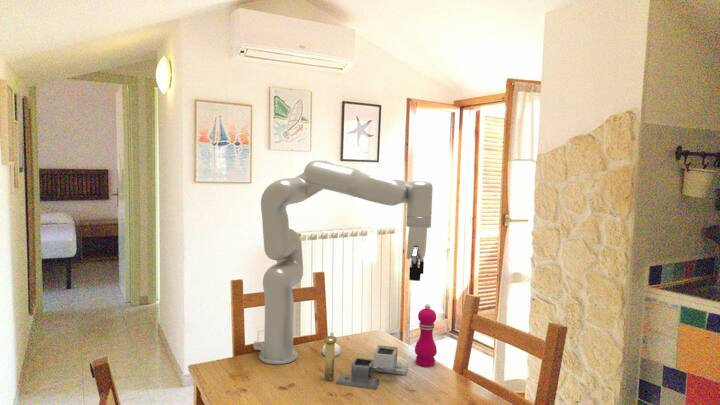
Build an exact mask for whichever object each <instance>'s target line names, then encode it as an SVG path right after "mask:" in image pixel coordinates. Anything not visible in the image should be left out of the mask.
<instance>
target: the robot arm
mask: <svg viewBox="0 0 720 405" xmlns="http://www.w3.org/2000/svg"><path fill="white" fill-rule="evenodd" d="M323 190H327V191H331V192H336V193H339V194H343V195H347V196H351V197H354V198H358V199H360V200H364V201H369V202H372V203H377V204H381V205H386V206H389V207H390V206H391V207H392V206H397V205H399V204H406V224H405V226H406V227H408V236H407V247H406V248H407V250H406V259H407V260H410V266H409V275H408V276H409V277H408V278H409V279H408V280H409V281H416V282H417V281H418V282H419V281H421V275H423V274H424V267H425V266H424V264H425V262H424V258H425V256H426V251H427V250H426V249H427V234H428V229H430V228H432V210H433V209H432V208H433V184H432V183H431V182H428V181H419V180H418V181H417V180H416V181H407V180H400V179H386V178H381V177H378V176H374V175H370V174H366V173H364V172H362V171H361V170H359V169H357V168H353V167H348V166H344V165H340V164H335V163H331V162H329V161H327V160H319V159H318V160H312V161H310V162H308V163H307V164H306V165H305V168H304V170H303V172H302V173H300V174H299V175H297V176H296V177H290V178H289V177H287V178H281V179H278V180H275V181H274V182H272V183H270V184H269V185H267V187H265V190H264V191H263V192H262V195H261V198H260V211H261V222H262V235H263V250H264V254H265V256H267V258H268V259H270V260H272V261H276V263H274V265H272V266H270V267H269V268H268V269H267V270H266V271H265V273H264V274H263V278H262V288H263V294H264V295H263V296H264V297H263V298H264V332H263V333H264V334H263V335H264V338H263V342H262V341H261V342H260V341H254V343H253V350H254V351H260V353H259V355H258V356H259V360H260V361H261V362H263V363H265V364H269V365H284V364H290V363H292V362H294V361H296V359H297V358H298V352H297V350H296V349H294V319H295V318H294V316H295V315H294V310H295V309H294V308H295V305H294V304H295V303H294V295H293V288H294V287H295V286H296V285H298V284H299V283H300V282H301V280H302V279H303V276H304V263H303V262H304V261H303V260H304V259H303V249H302V248H303V247H302V246H303V245H302V241H301V238H300V236H299V234H298V233H297V232H296V231H295V230H294V229H292V228H290V225H289V224H290V223H289V215H288V212H287V206H289V205H293V204H299V203H301V202H304V201H306V200H307V199H309V198H311V197H312V196H314V195H316V194H318V193H319V192H321V191H323Z"/></svg>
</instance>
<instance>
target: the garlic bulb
mask: <svg viewBox="0 0 720 405" xmlns="http://www.w3.org/2000/svg"><path fill="white" fill-rule="evenodd" d="M329 334H330V335H329V336H334V337H335V335H334V334H335V333H334V331H330V333H329ZM321 353H322V355H323V356H324V357H325V344H324V345H323V346H322V349H321ZM340 354H341V346H340V345H339V344H337V343H336V342H335V354H334V358H335V357H338V356H340Z"/></svg>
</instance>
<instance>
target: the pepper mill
mask: <svg viewBox="0 0 720 405" xmlns="http://www.w3.org/2000/svg"><path fill="white" fill-rule="evenodd" d="M417 319H418V321H419V323H418V324H419V325H418V327H419V330H420V333H419V334H420V335H419V338H418V339H417V342H416V344H415V347H414V352H415V353H414V354H415V355H416V356H415V364H416V365H418V366H419V367H424V368H428V367H429V368H430V367H433V366H434V365H436V364H435V363H436V362H435V361H436V359H435V356H436V355H437V350H438V349H437V345H436V342H435V341H434V337H433V332H434V329H435V322H436V321H437V313H436V312H435V310H433V309H432V308H431V305H430V304H428V303H427V304H425V305H424V308H421V310H419V312H418V314H417Z"/></svg>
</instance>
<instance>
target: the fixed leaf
mask: <svg viewBox="0 0 720 405" xmlns="http://www.w3.org/2000/svg"><path fill="white" fill-rule="evenodd" d="M373 369H374V367H373V359H369V358H362V357H356V358H354V360H353V361H352V363H351V371H350V372H351V373H350V374H344V373H340V374H339V376H338V377H337V380H336V385H342V386H348V387H356V388H364V389H371V390H377V388H378V386H379V384H380V378H375V377H373V374H374V371H373Z"/></svg>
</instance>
